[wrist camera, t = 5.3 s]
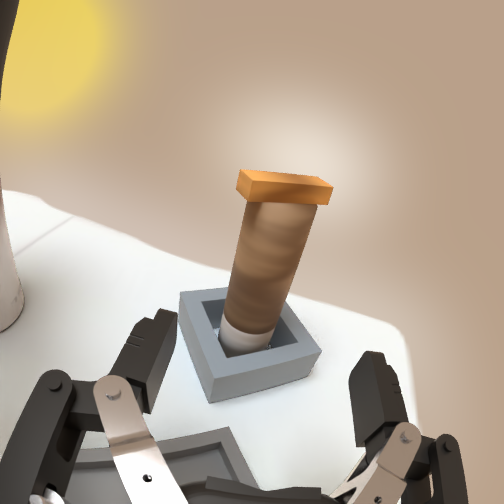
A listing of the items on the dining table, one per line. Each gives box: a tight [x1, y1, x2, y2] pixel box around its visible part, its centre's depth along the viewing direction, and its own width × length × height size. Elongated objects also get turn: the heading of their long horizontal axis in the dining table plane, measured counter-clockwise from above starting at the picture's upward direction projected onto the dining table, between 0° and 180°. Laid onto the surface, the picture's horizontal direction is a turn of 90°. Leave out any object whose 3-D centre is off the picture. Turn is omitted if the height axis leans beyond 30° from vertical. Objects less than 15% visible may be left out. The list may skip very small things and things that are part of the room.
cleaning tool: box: [218, 170, 333, 358], centre depth 24 cm, size 6×5×17 cm
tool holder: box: [178, 287, 322, 403], centre depth 27 cm, size 10×10×4 cm
